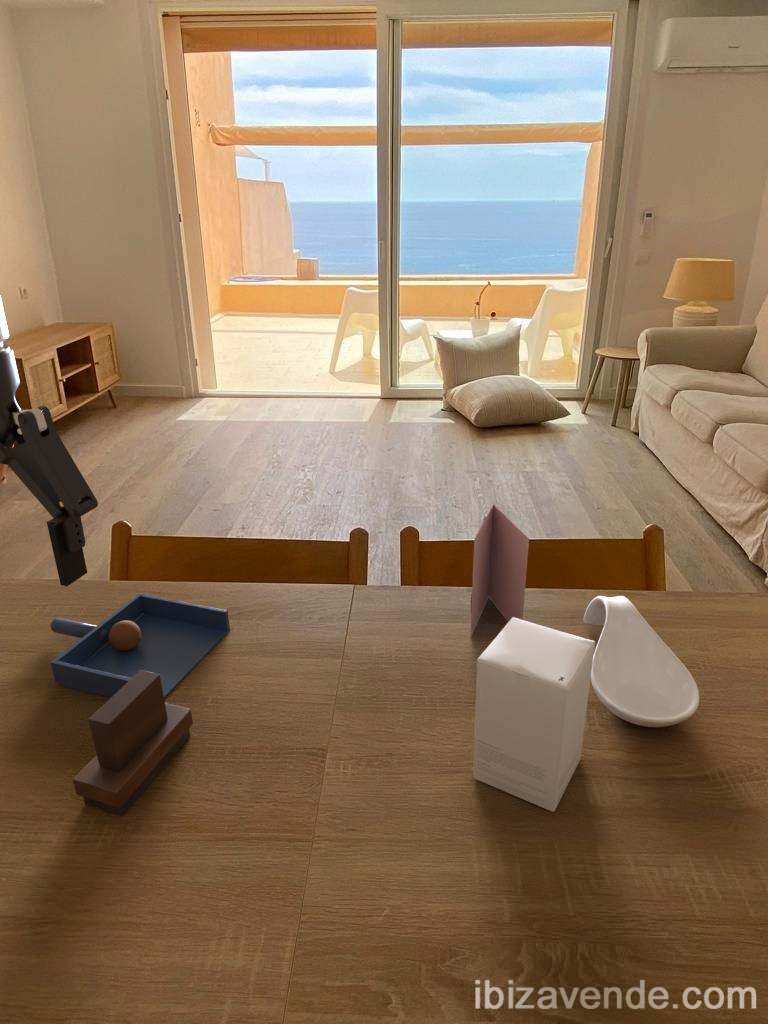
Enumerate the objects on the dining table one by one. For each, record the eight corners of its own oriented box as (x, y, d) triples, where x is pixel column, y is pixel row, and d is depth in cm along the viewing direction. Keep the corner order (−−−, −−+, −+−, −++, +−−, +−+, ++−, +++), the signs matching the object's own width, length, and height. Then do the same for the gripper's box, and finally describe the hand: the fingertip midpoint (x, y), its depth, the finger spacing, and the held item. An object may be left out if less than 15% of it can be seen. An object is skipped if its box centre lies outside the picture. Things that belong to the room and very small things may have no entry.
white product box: (583, 757, 74) (599, 639, 68) (554, 815, 67) (569, 690, 61) (504, 726, 78) (512, 613, 72) (469, 778, 71) (475, 658, 65)
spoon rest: (712, 744, 75) (724, 690, 72) (603, 745, 75) (611, 692, 72) (639, 622, 97) (646, 577, 94) (554, 623, 97) (559, 578, 94)
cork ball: (104, 652, 91) (100, 626, 90) (125, 638, 95) (121, 612, 93) (128, 659, 90) (125, 633, 89) (148, 644, 94) (146, 618, 92)
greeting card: (482, 594, 104) (487, 503, 98) (532, 603, 102) (540, 510, 96) (464, 636, 95) (467, 537, 88) (518, 646, 92) (526, 545, 86)
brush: (79, 806, 69) (59, 731, 65) (156, 724, 79) (142, 655, 75) (122, 820, 67) (104, 743, 63) (195, 734, 78) (183, 664, 74)
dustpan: (230, 630, 97) (227, 610, 95) (154, 708, 82) (150, 686, 80) (97, 603, 104) (93, 584, 102) (5, 671, 89) (-1, 650, 87)
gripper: (114, 348, 58) (149, 569, 67) (-107, 329, 65) (-48, 531, 74) (47, 368, 51) (96, 610, 60) (-189, 345, 59) (-114, 564, 68)
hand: (17, 567), depth 67 cm, fingers open, 13 cm apart
